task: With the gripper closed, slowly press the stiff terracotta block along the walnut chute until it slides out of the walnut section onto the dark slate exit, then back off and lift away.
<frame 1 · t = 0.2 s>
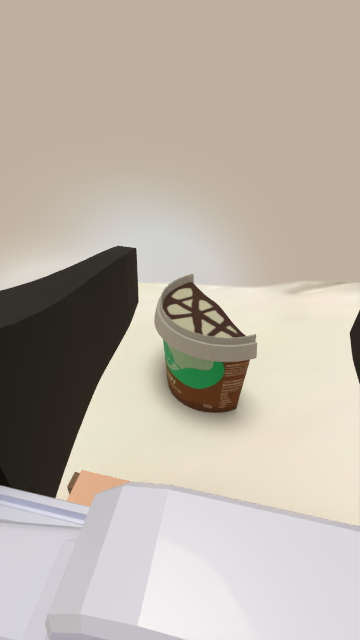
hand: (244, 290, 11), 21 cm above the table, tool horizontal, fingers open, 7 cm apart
jammed block: (115, 539, 21), point 4 cm above the table, slide at 0.0 cm
food container: (187, 387, 37), on the table
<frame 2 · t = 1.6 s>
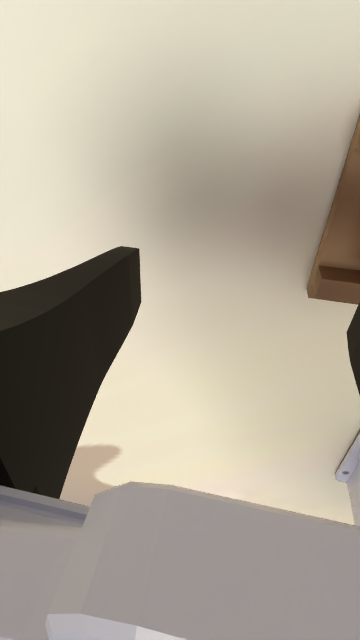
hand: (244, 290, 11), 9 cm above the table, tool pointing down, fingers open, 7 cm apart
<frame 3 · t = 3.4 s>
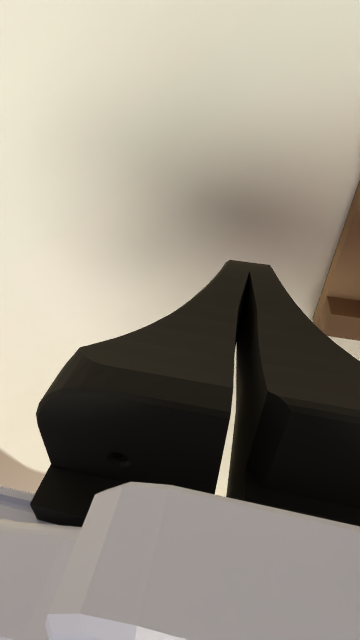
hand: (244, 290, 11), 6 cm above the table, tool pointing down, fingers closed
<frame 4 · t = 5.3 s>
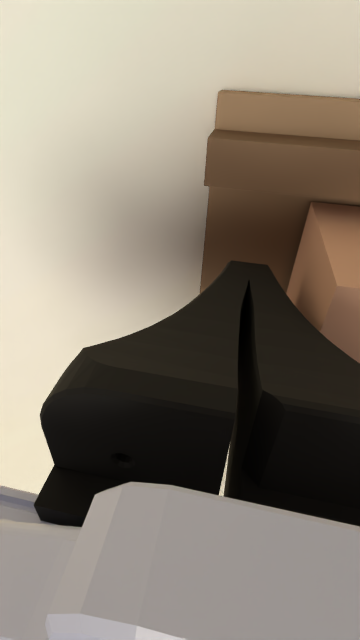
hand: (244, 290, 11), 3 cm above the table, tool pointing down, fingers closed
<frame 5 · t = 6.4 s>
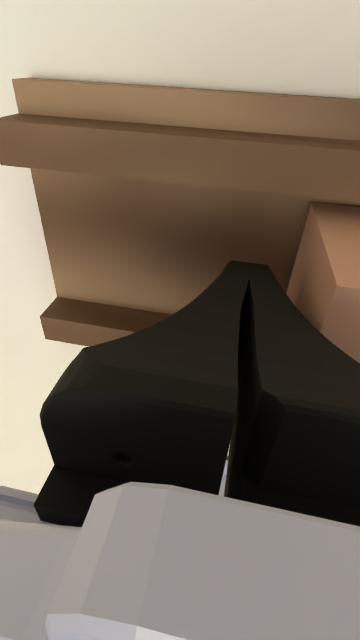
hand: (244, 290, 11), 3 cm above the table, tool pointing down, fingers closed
chute: (332, 259, 13), on the table
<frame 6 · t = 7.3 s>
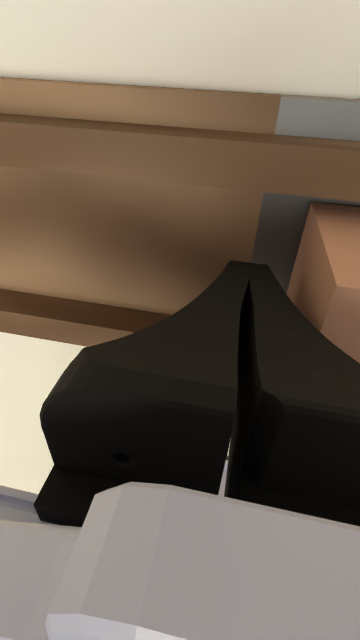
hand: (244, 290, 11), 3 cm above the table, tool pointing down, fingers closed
chute: (252, 250, 13), on the table
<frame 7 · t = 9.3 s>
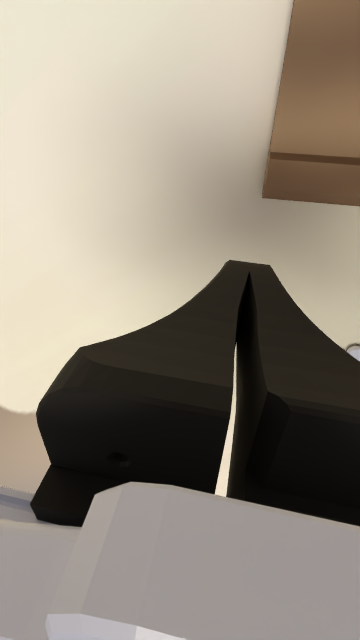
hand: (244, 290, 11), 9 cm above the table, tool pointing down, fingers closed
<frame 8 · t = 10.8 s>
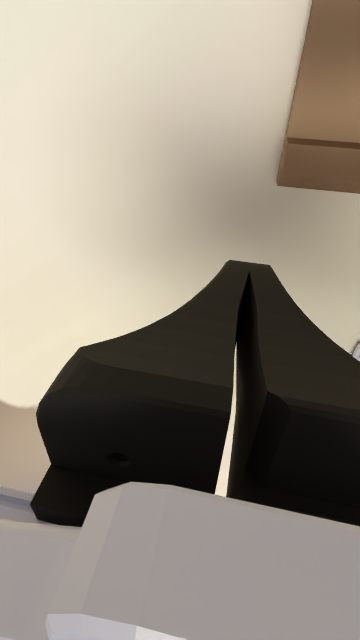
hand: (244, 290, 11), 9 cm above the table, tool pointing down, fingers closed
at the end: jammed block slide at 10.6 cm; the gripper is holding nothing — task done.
